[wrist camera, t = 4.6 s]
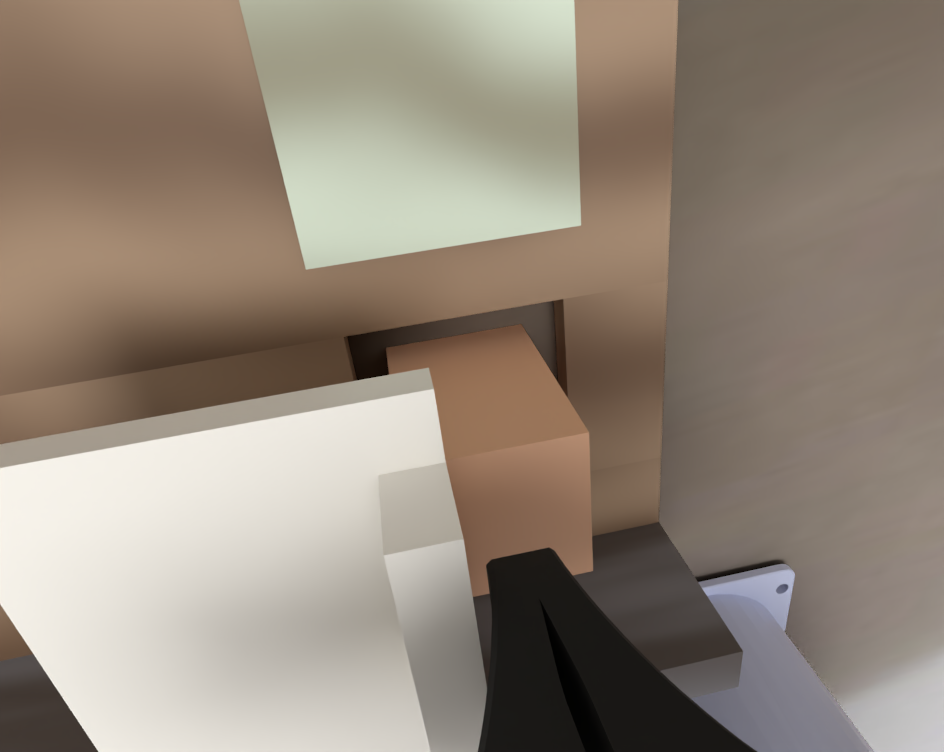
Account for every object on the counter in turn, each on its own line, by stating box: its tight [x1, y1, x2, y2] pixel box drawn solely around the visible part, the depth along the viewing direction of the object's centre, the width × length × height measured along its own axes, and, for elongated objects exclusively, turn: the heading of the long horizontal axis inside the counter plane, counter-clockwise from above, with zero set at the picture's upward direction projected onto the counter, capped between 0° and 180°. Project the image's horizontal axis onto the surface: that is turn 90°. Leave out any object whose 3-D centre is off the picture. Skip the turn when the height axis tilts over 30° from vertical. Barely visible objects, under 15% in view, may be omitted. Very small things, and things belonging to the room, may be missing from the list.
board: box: [0, 0, 743, 752], centre depth 15 cm, size 21×25×6 cm
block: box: [386, 324, 593, 597], centre depth 17 cm, size 4×4×6 cm
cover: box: [0, 368, 487, 752], centre depth 12 cm, size 12×8×3 cm, turn 7°
